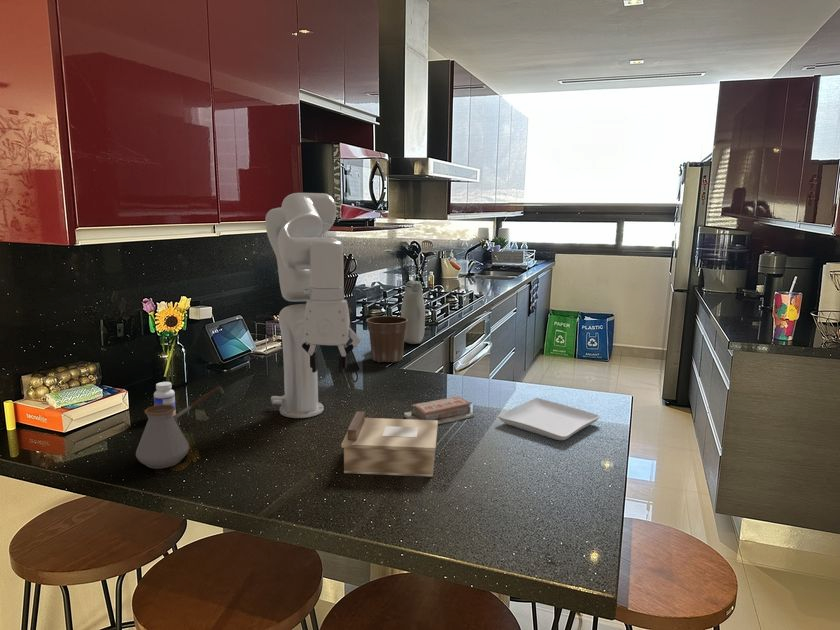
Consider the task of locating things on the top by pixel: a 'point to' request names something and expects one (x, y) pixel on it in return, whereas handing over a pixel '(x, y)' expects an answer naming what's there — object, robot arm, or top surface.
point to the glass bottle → (413, 312)
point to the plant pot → (387, 337)
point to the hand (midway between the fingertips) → (328, 370)
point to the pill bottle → (164, 395)
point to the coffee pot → (164, 436)
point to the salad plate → (548, 418)
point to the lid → (391, 434)
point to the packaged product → (441, 410)
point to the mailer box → (388, 462)
